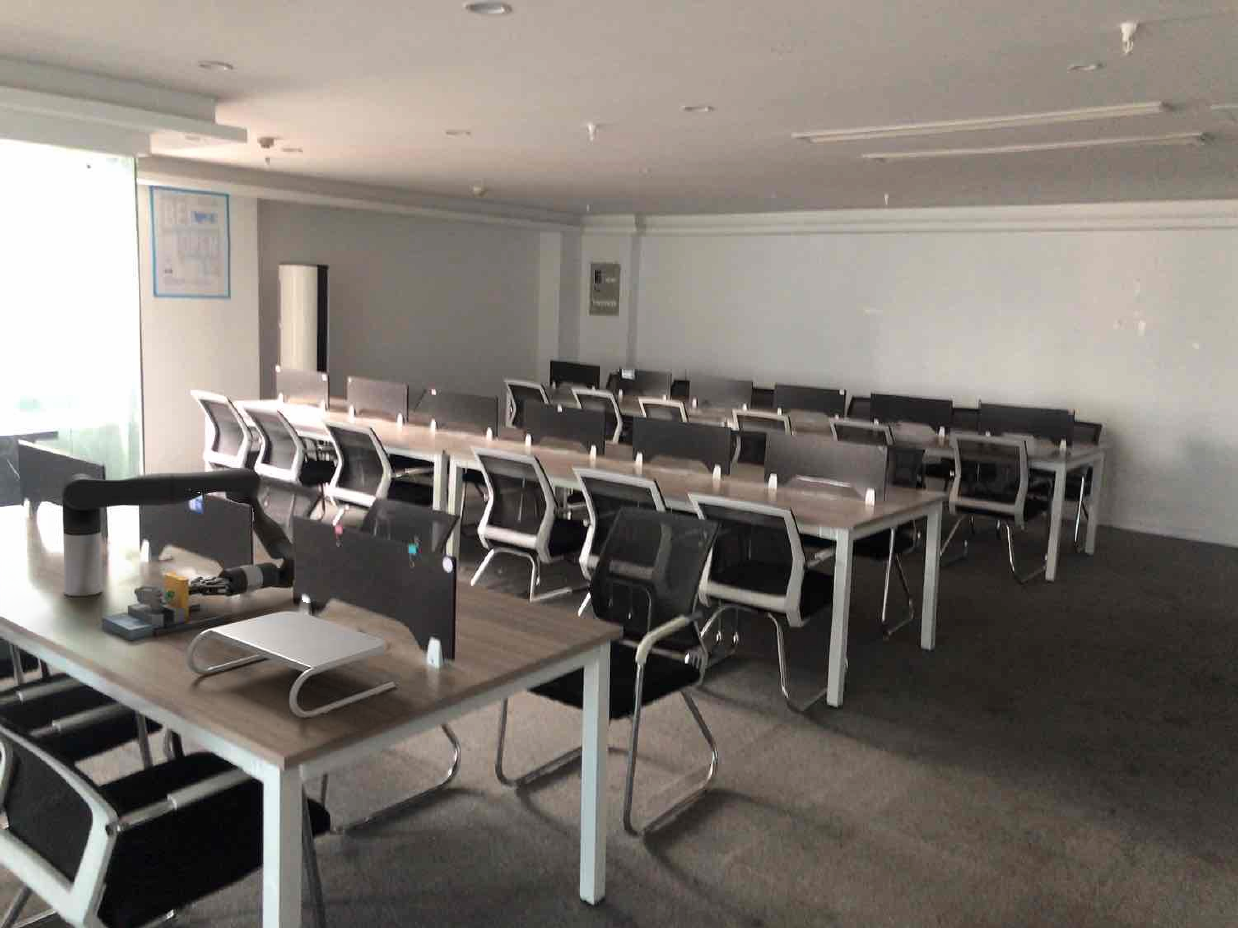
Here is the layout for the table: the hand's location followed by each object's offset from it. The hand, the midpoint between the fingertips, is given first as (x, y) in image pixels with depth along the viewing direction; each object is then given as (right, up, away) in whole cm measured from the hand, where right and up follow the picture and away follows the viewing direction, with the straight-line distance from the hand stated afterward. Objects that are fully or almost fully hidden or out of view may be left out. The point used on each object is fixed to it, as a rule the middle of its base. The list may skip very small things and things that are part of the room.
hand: (180, 591), depth 257 cm
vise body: (-3, -8, -2) cm, 9 cm away
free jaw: (-2, -8, -1) cm, 8 cm away
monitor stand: (+41, -16, -36) cm, 57 cm away
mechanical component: (-4, -8, -3) cm, 10 cm away
